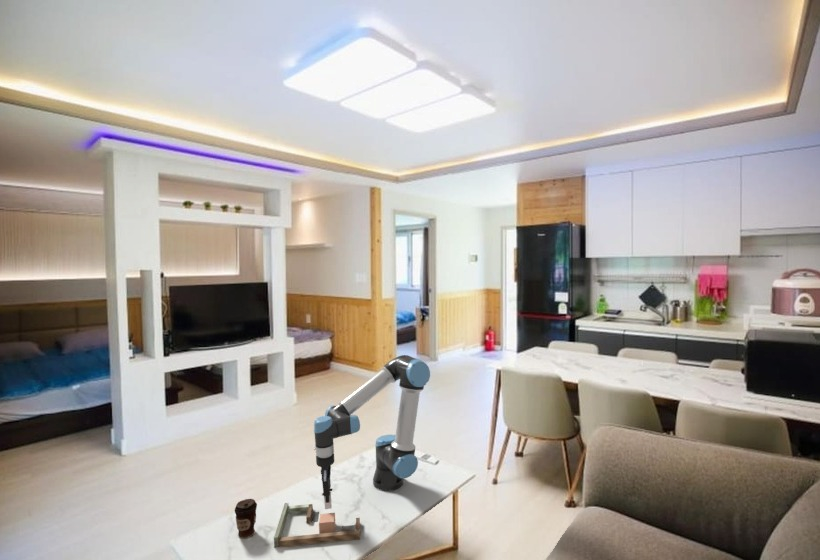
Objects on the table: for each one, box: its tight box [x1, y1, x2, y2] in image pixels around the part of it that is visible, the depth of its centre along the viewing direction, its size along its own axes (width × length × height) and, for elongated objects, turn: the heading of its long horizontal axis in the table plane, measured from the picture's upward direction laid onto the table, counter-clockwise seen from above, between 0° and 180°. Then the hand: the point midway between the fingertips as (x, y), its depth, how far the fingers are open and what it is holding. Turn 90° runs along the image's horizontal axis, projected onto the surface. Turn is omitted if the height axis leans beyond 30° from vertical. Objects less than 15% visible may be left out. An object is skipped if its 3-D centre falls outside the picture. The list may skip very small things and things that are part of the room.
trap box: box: [273, 502, 361, 548], centre depth 173 cm, size 33×23×4 cm
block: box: [318, 512, 336, 534], centre depth 170 cm, size 6×6×5 cm
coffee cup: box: [234, 498, 258, 539], centre depth 167 cm, size 9×8×13 cm
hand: (328, 507), depth 175 cm, fingers closed
